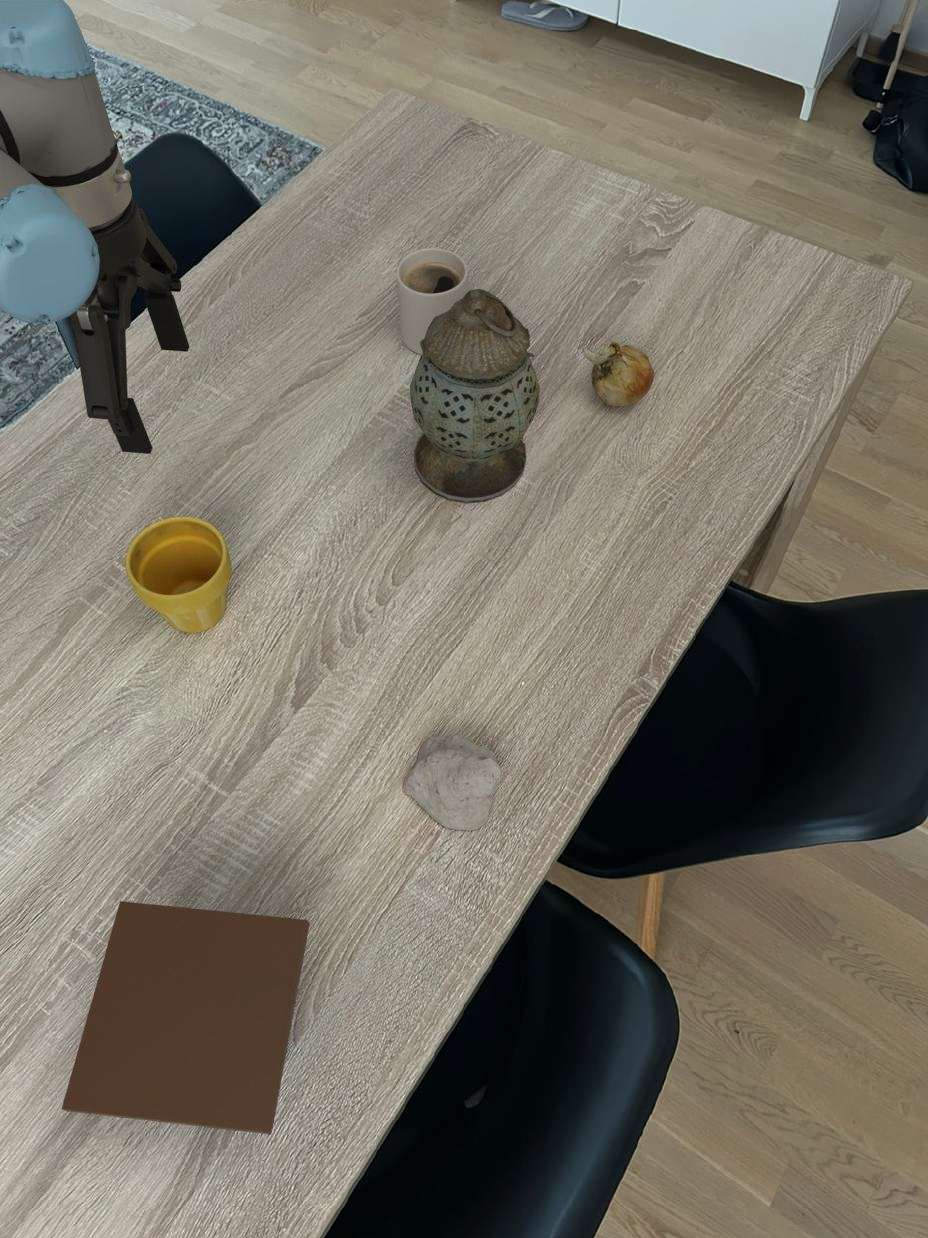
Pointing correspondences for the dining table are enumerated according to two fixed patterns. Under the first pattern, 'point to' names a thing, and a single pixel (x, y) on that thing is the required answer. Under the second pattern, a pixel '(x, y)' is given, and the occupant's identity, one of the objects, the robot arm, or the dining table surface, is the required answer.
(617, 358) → the onion
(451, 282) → the mug
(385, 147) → the dining table surface
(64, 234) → the robot arm
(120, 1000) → the stand
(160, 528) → the flower pot
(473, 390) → the lantern
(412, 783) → the stone
